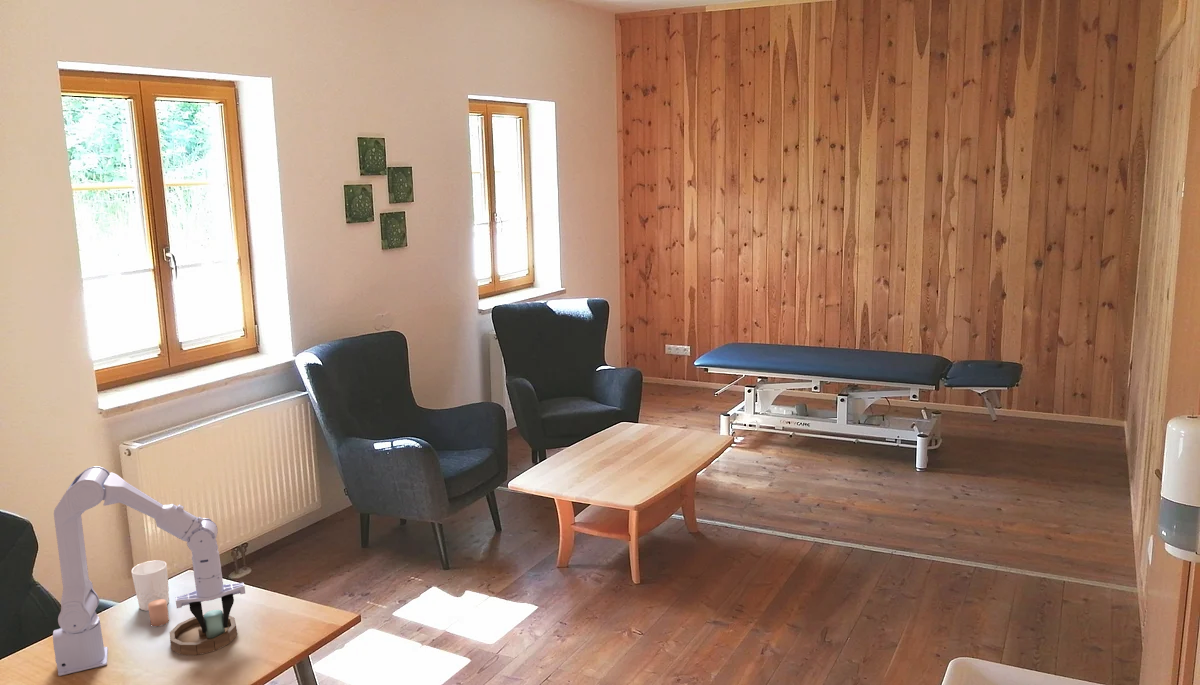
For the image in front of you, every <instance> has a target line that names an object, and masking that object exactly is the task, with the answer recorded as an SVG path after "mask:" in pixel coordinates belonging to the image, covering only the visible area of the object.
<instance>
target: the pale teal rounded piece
mask: <svg viewBox="0 0 1200 685" xmlns="http://www.w3.org/2000/svg"><path fill="white" fill-rule="evenodd" d="M203 615H204V621H205V627H206V636H207V637H208V638H215V637H217V636H219V635H221V634H223V633H225V627H224V619H223V610H221V609H212V610H209V611H207V612H205V613H203Z"/></svg>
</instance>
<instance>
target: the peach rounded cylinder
mask: <svg viewBox="0 0 1200 685" xmlns="http://www.w3.org/2000/svg"><path fill="white" fill-rule="evenodd" d="M148 608H149V611H148V615H149V620H150V626H151V625H152V626H151V627H154V626H158V627H162V626H165V625H166V623H167V624H168V623H169V622H170V617H169V610H168V604H167V602H166V600H165V599H158V600H154V601H152V602H150V603H149V604H148ZM164 624H165V625H164Z"/></svg>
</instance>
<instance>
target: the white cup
mask: <svg viewBox="0 0 1200 685" xmlns="http://www.w3.org/2000/svg"><path fill="white" fill-rule="evenodd" d="M167 565H168V564H167V562H166V561H164V560H159V559H158V560H157V559H156V560H148V561H144V562H141V563H139V564H137V565H135V566H133V567H132V569H131V576H132V581H133V582H132V583H133V586H134V591H135V595H136V599H137V602H138V607H139V609H140V610H142V611H147V612H149V608H148V604H149V603H150V602H152V601H154V600H158V599H165V600H166V602H167V605H168V604H169V603H170V594H169V589H170V588H169V576H168V566H167Z"/></svg>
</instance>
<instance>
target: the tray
mask: <svg viewBox="0 0 1200 685" xmlns="http://www.w3.org/2000/svg"><path fill="white" fill-rule="evenodd" d="M203 618H204V614H203ZM204 622H205V621H204ZM237 635H238V629H237V623H236V619H235V617H234V616H231V615H229V618H228V627H227V628H225V633H223V634H221V635H219V636H217V637H215V638H208V637H207V636H206V633H203V631H202V628H201V626H200V624H199V622H198V620H197V619H196V617H195V616H192V617H190V618H189V619H185V620H183V621H182V622H179V623H178V624H176V626H175V627H174V628H172V630H170V631H169V641H170V642H169V643H170V649H171V651H172V652H175V653H177V654H178V655H180V656H199V655H203V654H208V653H212V652H215V651H218V650H219V649H220V650H221V649H222V648H224V647H225V646H228V645H229V644H231V643H232V641H233V640H234V639H235V638H236V637H237Z"/></svg>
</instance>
